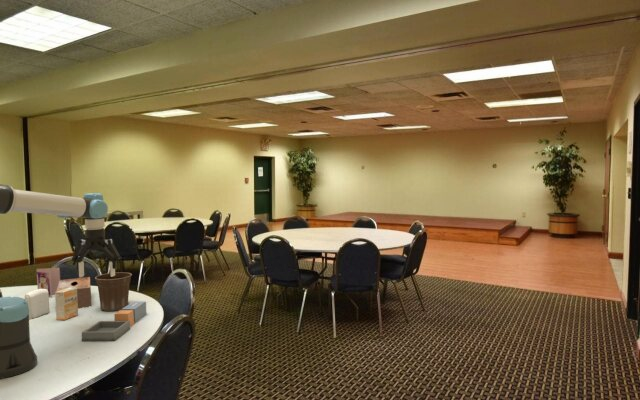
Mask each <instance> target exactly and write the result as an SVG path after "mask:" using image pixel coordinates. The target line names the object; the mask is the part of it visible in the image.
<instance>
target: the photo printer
mask: <svg viewBox="0 0 640 400" xmlns="http://www.w3.org/2000/svg"><path fill="white" fill-rule="evenodd" d="M24 299H25V300H26V301H27V303H28V308H29V320H32V319H34V318H38V317H40V316H43V315H45V314H48V313H50V308H51V307H50V298H49V293H48V290H47V289H38V288H37V289H34V290H30V291H29V292H27V293H26V294H25V295H24Z"/></svg>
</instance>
